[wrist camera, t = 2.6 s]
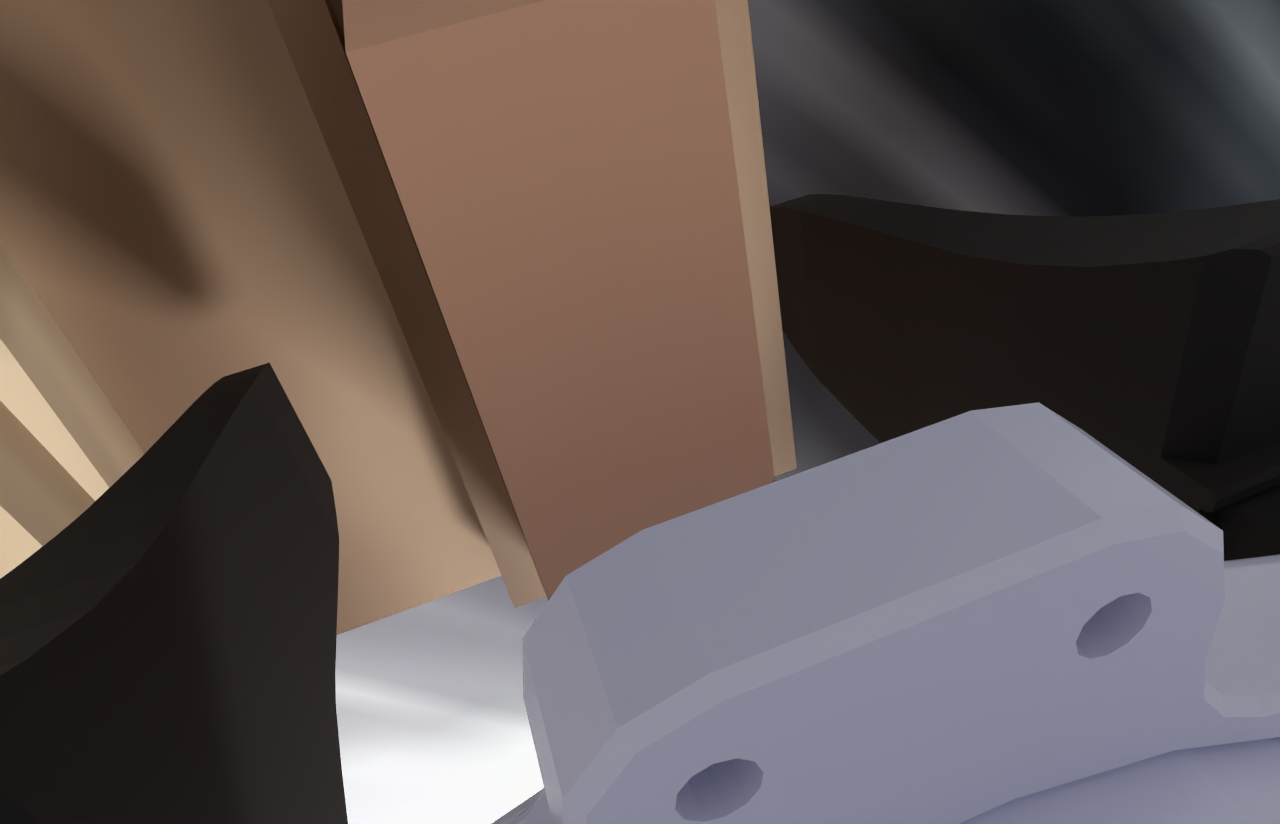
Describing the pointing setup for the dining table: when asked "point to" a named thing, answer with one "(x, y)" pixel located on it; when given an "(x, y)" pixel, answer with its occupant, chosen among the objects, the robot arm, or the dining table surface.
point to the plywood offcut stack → (48, 426)
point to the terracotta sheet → (579, 249)
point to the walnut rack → (284, 261)
